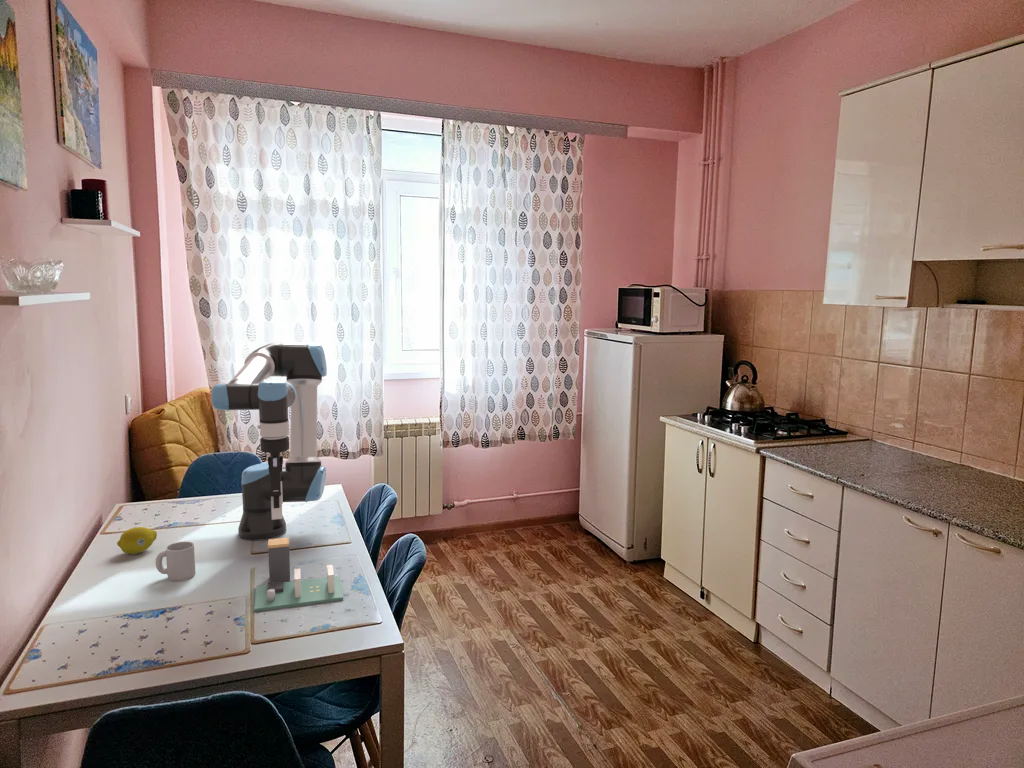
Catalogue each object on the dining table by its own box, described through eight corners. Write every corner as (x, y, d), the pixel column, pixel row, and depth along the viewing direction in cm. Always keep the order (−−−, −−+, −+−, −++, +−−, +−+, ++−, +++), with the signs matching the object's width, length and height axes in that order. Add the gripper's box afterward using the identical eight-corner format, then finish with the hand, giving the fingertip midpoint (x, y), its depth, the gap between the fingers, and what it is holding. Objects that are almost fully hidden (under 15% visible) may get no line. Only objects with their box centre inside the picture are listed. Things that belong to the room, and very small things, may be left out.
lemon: (118, 560, 199) (116, 534, 198) (117, 551, 206) (115, 527, 205) (158, 553, 205) (157, 528, 204) (157, 545, 211) (155, 521, 210)
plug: (270, 576, 189) (268, 539, 188) (290, 573, 191) (288, 537, 189) (269, 583, 184) (267, 545, 183) (290, 580, 186) (288, 543, 185)
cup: (194, 579, 186) (192, 549, 185) (154, 584, 183) (152, 553, 182) (197, 569, 193) (195, 540, 192) (158, 574, 190) (156, 544, 189)
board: (256, 588, 181) (255, 568, 180) (339, 578, 188) (338, 558, 187) (254, 611, 168) (253, 590, 167) (343, 600, 175) (342, 579, 174)
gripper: (261, 428, 192) (264, 499, 195) (258, 447, 169) (261, 527, 172) (288, 427, 195) (291, 497, 198) (289, 445, 171) (291, 524, 174)
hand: (277, 511), depth 185 cm, fingers open, 13 cm apart
